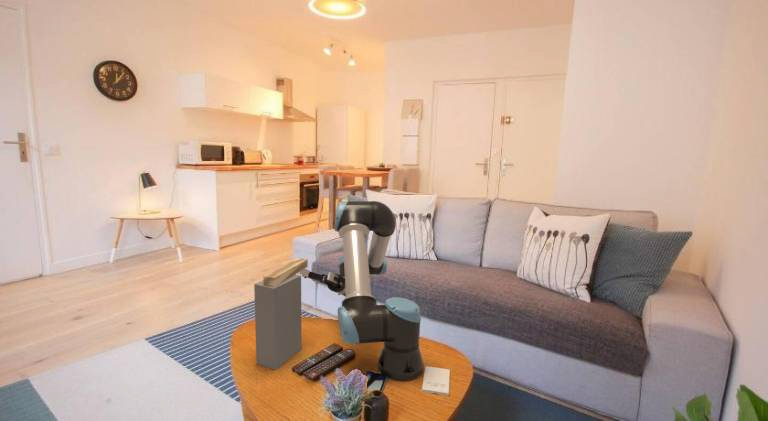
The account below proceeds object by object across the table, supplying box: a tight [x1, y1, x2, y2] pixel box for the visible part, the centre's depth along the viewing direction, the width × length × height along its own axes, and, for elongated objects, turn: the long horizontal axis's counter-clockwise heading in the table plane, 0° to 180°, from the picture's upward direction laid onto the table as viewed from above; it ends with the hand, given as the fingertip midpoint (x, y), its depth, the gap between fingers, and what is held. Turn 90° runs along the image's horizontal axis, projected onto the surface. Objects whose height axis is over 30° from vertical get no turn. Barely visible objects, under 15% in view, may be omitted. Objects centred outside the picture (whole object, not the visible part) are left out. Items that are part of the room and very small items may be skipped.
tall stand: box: [253, 274, 303, 371], centre depth 127 cm, size 8×14×28 cm, turn 156°
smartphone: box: [364, 370, 389, 393], centre depth 114 cm, size 7×1×15 cm
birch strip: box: [262, 257, 309, 287], centre depth 129 cm, size 4×22×3 cm, turn 163°
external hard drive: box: [421, 365, 451, 397], centre depth 118 cm, size 2×8×12 cm
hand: (313, 272), depth 144 cm, fingers open, 13 cm apart
